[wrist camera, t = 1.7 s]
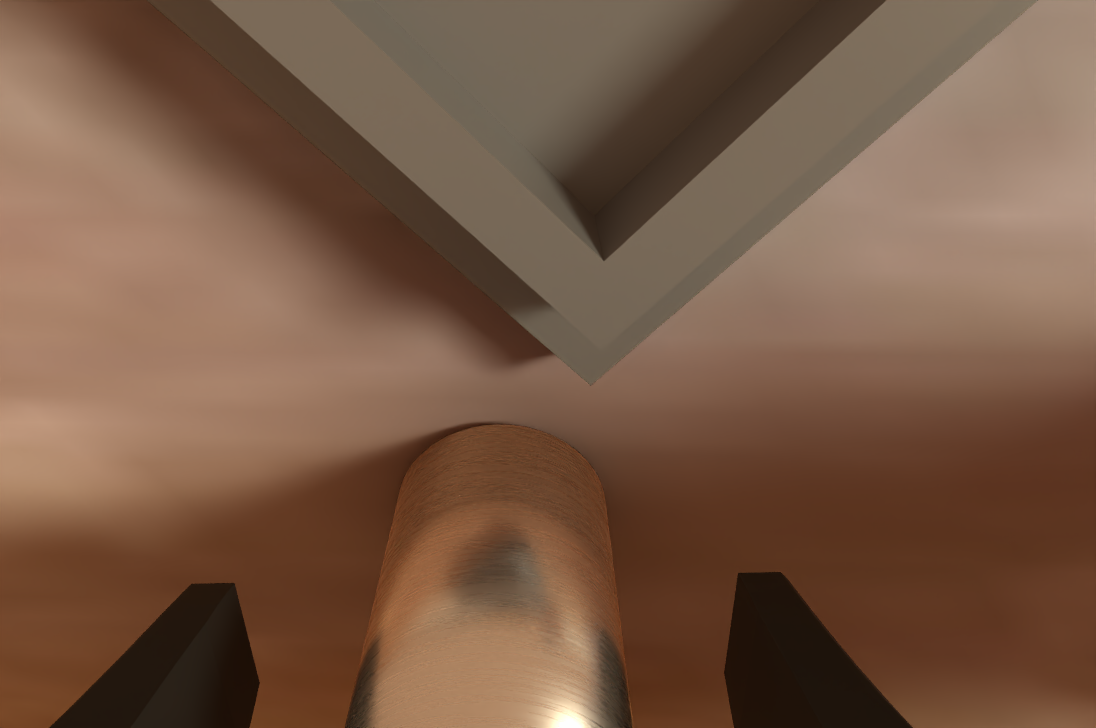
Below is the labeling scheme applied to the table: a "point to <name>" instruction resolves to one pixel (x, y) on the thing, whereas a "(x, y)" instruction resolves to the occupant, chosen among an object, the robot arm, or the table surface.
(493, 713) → the cell
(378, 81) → the cradle
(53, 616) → the table surface
